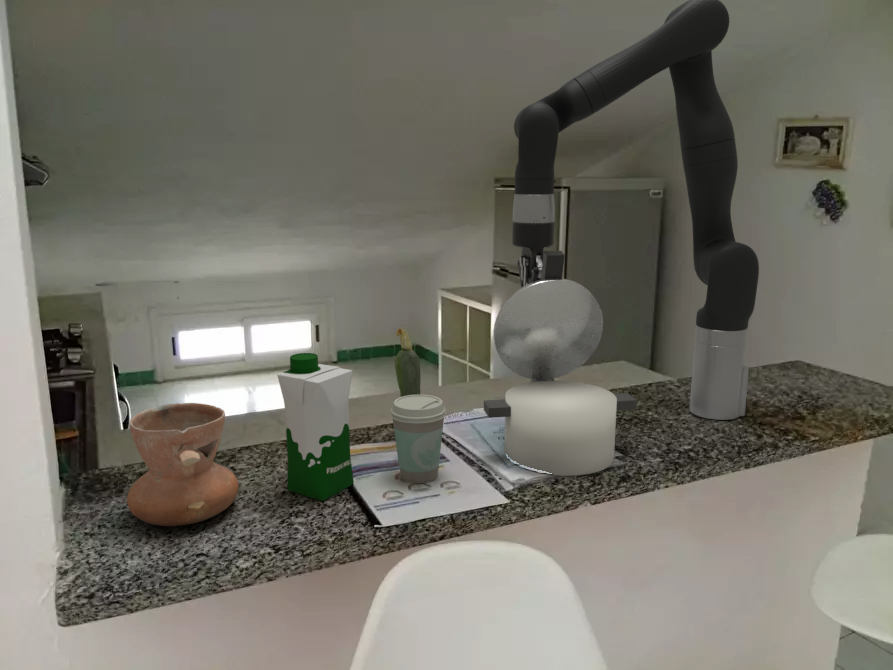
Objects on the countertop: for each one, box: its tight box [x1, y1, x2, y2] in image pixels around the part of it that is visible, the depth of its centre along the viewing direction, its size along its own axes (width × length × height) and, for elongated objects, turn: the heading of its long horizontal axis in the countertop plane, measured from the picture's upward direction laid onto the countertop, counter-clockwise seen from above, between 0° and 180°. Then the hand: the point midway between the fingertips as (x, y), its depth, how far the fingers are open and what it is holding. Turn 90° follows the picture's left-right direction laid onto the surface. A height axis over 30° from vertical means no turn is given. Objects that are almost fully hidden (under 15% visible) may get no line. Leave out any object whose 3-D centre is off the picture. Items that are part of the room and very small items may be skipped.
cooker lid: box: [493, 250, 604, 382], centre depth 124 cm, size 19×25×4 cm
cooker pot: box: [483, 380, 638, 477], centre depth 119 cm, size 25×18×10 cm
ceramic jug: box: [126, 402, 239, 527], centre depth 99 cm, size 18×14×14 cm
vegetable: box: [394, 328, 421, 398], centre depth 125 cm, size 4×4×20 cm
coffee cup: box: [389, 394, 447, 484], centre depth 111 cm, size 8×8×12 cm
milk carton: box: [277, 352, 355, 502], centre depth 106 cm, size 9×9×20 cm
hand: (531, 313), depth 134 cm, fingers closed
